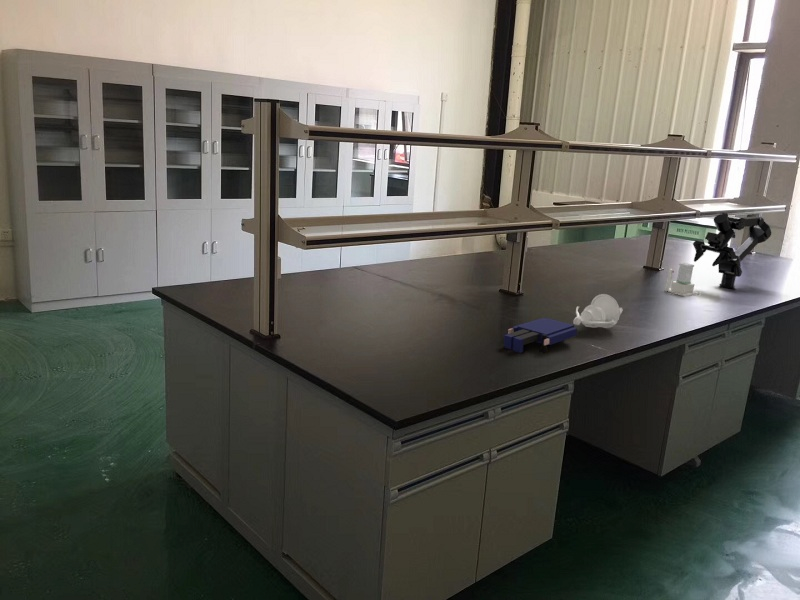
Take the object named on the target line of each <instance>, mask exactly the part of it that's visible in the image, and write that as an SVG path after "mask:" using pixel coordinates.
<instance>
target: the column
mask: <svg viewBox="0 0 800 600" xmlns="http://www.w3.org/2000/svg"><path fill="white" fill-rule="evenodd" d="M678 265H679V268H678V273H677V279H676V280H675V281H676V282H677V283H681V284H684V285H686V284H690V283H692V276H693V270H694V267H695V264H691V263H688V262H680V263H679V264H678Z"/></svg>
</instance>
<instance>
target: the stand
mask: <svg viewBox="0 0 800 600" xmlns="http://www.w3.org/2000/svg"><path fill="white" fill-rule="evenodd" d="M674 272H675V271H674V269H672V268H668V274H667V280H666V284H665V288H664V290H665V291H664V290H663V291H664V292H667V291H668V293H671V294H674V293H675V295H677V294H678V296H680V297H691V296H692V295H693V296H698V295H700V292H697V291H694V289H695V284H694V283H692V282H691V283H690V284H686V285H684V284H681V283H677V282H676V280H674V281H672V278H673V274H674Z"/></svg>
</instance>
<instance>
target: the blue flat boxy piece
mask: <svg viewBox="0 0 800 600" xmlns="http://www.w3.org/2000/svg"><path fill="white" fill-rule="evenodd" d="M576 336H578V328H577V327H575V324H572V323H568V322H564V321H559V320H556V319H551V318H549V317H543V318H536V319H535V320H531V321H528V322H525V323H520V324H518V325H515V326H512V327H511V328H509V329H507V334H504V338H503V345H504V346H503V347H504V348H505V349H507V350H510V351H511V350H512V351H513V352H516V353H519V354H521V353H523V352H524V346H525V345H528V344H531V343H534V342H535V343H538V344H541V347H540V349H539V352H540V353H541V354H549V349H548V347H547V346H548V345H549V346H551V345H554V344H557V343H559V342H562V341H565V340H568V339H571V338H574V337H576Z"/></svg>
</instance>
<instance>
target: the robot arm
mask: <svg viewBox="0 0 800 600" xmlns="http://www.w3.org/2000/svg"><path fill="white" fill-rule="evenodd" d="M713 222H714V225H715V227H716V230H717V231H718V233H715V232H710V231H708V232H707V233H706V236H704V239H705V240H707V244H708V245H707V244H705V241H702V240H694V241H693V243H692V245H693V248H694V250H695V253H694V254H695V255H694V258H693V261H694V263H696V262H697V261H699V260H700V258H702V256H704V254H705V253H706V252H707V251H710V252H713V253H718V256H717V257H716V258H715V259H714V260H713V263H712V267H716V266H718V273H720V274H722V275H721V276H722V277H721V281H720V283H718V284H719V288H724V289H732V290H735V289H736V286H735V283H736V278H737V277H739V278H740V277H741V276H742V274H743V270H742V268H741V267H742V266H741V265H742V264H741V263H742V261H743V260H744V259H745V258H746V257H747V255H749V253H751V251H752V250H754V248H755V247H756V246H757V245H758V244H761V243H764V242H766V241H767V240H769V238H770V237H771V236H772V230H771V227H770V225H769V224H768V223H766V221H765V219H764V217H760V216H755V215H753V216H747V217H746V216H744V217H739V216H734V215H733V216H732V215H729V214H728V212H722V213H720V214H718V215H716V216H714V218H713ZM745 227H748V231H749V235H748V238H747V239H745V240H744V241H743V243H741V245H740V246H739V247H738V248H737V249H736V250H734V248H733V247H730V246H729V244H728V243H729V242H730V241H731V239H735V238H736V232H735V231H734V230H736V231H741V230H743V229H745Z"/></svg>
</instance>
